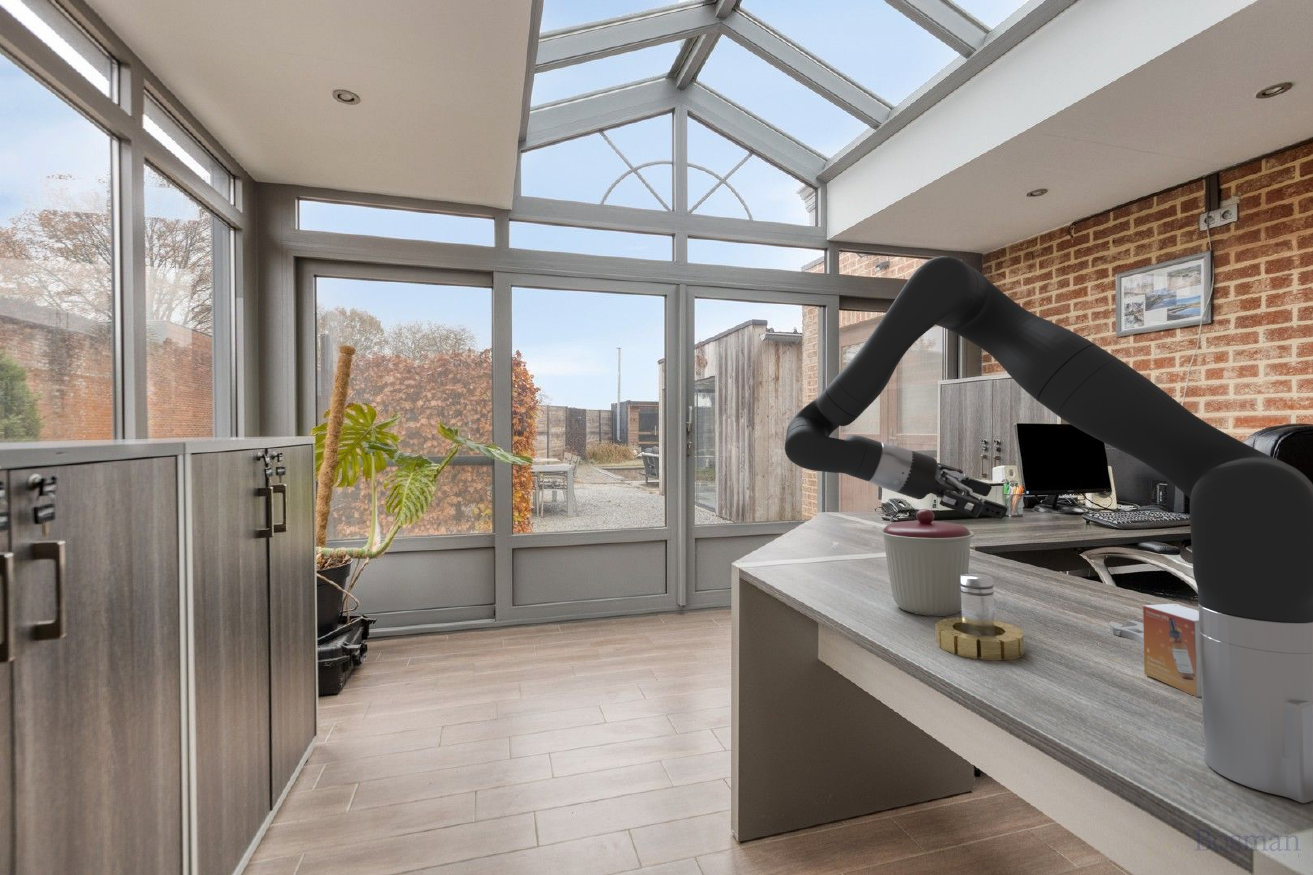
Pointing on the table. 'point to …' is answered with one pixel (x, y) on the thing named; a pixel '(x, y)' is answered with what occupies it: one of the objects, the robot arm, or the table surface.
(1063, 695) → the table surface
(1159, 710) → the table surface
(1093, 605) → the table surface
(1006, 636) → the ring
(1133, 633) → the adjustable wrench
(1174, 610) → the small box
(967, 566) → the canister
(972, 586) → the spice jar
